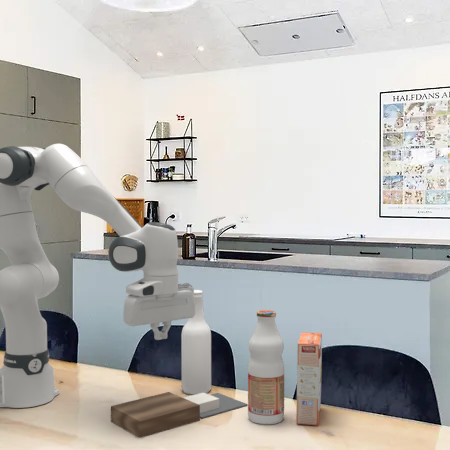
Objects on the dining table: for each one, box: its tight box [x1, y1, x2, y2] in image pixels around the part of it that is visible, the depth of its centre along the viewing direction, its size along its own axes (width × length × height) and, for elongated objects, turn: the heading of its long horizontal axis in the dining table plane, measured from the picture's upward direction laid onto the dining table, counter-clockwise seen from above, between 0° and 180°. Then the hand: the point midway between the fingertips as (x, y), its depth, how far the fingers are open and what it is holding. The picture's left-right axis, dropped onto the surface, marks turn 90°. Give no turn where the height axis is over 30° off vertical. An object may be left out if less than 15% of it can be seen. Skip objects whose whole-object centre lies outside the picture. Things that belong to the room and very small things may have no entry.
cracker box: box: [295, 331, 323, 427], centre depth 156 cm, size 14×6×21 cm, turn 168°
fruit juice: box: [247, 309, 285, 425], centre depth 154 cm, size 9×9×28 cm
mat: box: [200, 392, 248, 420], centre depth 164 cm, size 13×16×1 cm
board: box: [110, 391, 201, 439], centre depth 153 cm, size 14×18×4 cm
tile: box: [183, 392, 219, 413], centre depth 161 cm, size 7×9×2 cm
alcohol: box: [181, 289, 212, 396], centre depth 177 cm, size 9×9×30 cm
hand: (160, 339), depth 153 cm, fingers closed
